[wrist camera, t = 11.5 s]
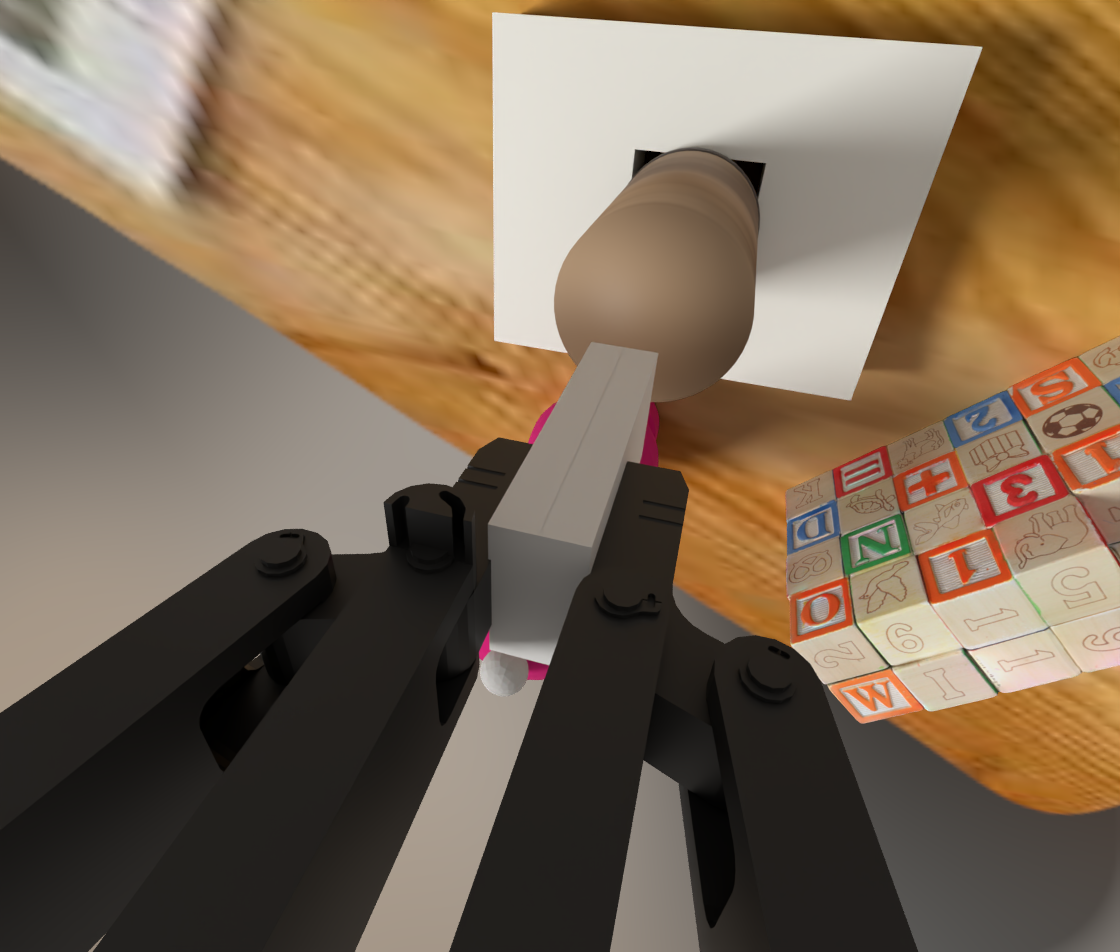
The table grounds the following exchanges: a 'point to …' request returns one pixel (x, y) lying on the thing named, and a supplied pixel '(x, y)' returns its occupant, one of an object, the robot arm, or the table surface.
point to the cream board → (740, 134)
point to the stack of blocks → (967, 550)
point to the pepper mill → (496, 668)
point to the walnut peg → (668, 271)
